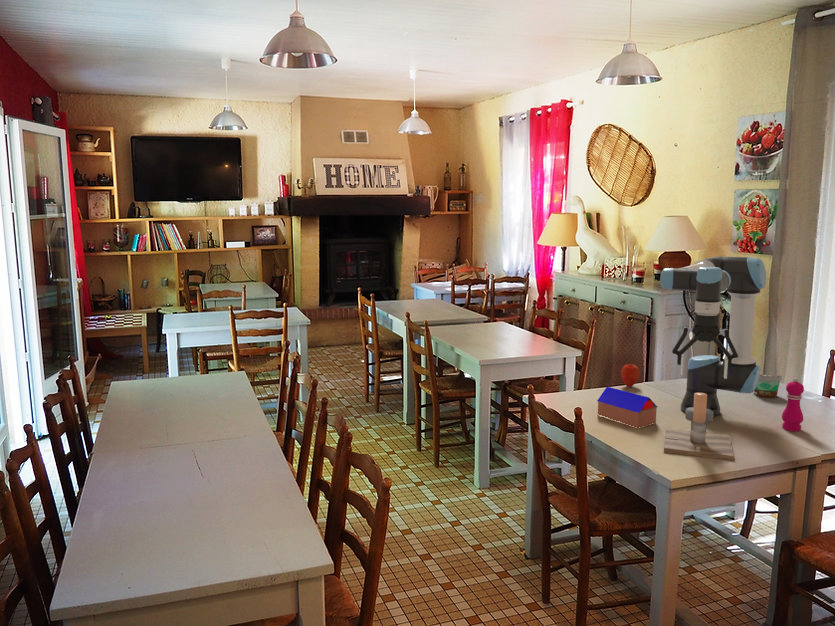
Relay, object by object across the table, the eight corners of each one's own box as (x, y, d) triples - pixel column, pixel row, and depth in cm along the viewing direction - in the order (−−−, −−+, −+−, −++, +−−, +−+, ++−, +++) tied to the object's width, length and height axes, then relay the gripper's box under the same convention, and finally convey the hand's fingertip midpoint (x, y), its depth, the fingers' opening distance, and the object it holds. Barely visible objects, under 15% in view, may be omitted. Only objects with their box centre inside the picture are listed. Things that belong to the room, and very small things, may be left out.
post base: (665, 432, 257) (666, 408, 255) (729, 439, 249) (730, 414, 247) (663, 452, 236) (665, 425, 235) (733, 460, 229) (735, 433, 227)
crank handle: (685, 414, 247) (687, 382, 245) (712, 416, 244) (714, 385, 242) (684, 427, 232) (686, 394, 230) (713, 430, 229) (715, 397, 227)
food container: (752, 397, 302) (753, 375, 300) (749, 393, 308) (751, 372, 306) (783, 399, 298) (785, 377, 297) (780, 396, 304) (782, 374, 303)
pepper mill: (791, 432, 256) (795, 380, 253) (776, 426, 263) (780, 376, 260) (806, 430, 258) (811, 379, 255) (791, 425, 265) (796, 374, 261)
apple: (641, 389, 316) (642, 366, 315) (622, 389, 317) (623, 366, 315) (636, 384, 325) (637, 362, 323) (618, 384, 325) (619, 362, 324)
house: (615, 411, 284) (616, 384, 282) (657, 423, 268) (658, 394, 266) (596, 416, 277) (597, 388, 275) (638, 429, 261) (639, 400, 259)
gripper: (666, 313, 227) (663, 375, 230) (749, 317, 218) (745, 381, 221) (667, 310, 234) (664, 370, 237) (747, 313, 225) (743, 376, 228)
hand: (703, 376), depth 229 cm, fingers open, 13 cm apart
